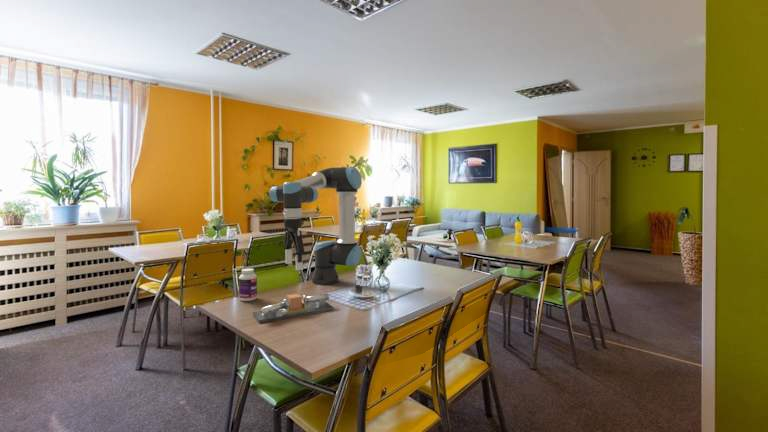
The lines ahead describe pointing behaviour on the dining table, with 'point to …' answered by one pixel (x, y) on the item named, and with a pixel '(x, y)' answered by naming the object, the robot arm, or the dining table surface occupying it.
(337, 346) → the dining table surface
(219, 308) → the dining table surface
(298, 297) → the block
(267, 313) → the shaft
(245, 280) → the pill bottle
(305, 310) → the board
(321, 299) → the shaft
